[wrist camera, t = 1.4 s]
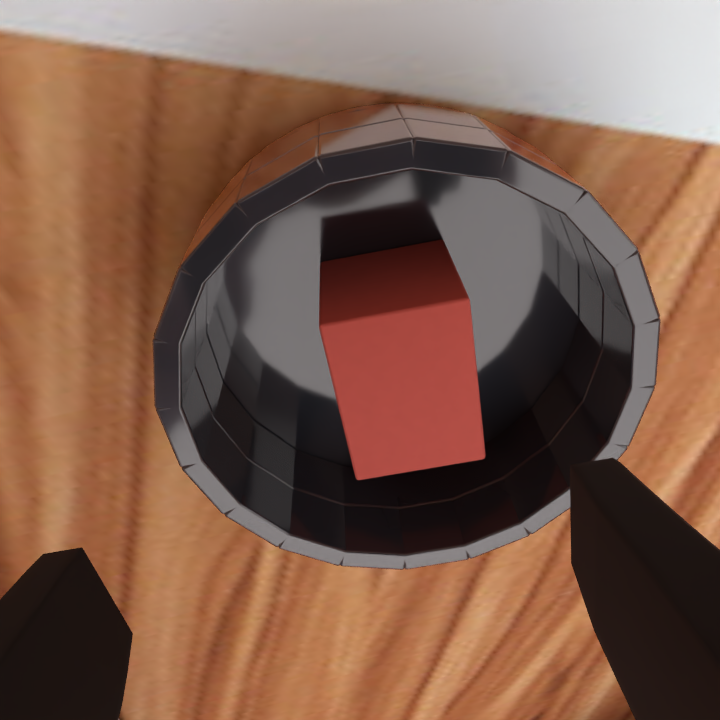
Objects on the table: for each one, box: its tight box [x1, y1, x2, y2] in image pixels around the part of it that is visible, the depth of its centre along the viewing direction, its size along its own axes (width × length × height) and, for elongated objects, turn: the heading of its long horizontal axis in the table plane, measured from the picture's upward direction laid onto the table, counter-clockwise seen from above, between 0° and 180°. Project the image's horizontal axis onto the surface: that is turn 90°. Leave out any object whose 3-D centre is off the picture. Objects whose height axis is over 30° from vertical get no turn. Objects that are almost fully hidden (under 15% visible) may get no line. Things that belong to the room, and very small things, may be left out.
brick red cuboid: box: [319, 240, 486, 480], centre depth 16 cm, size 4×3×4 cm
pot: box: [153, 103, 660, 570], centre depth 16 cm, size 11×11×4 cm
